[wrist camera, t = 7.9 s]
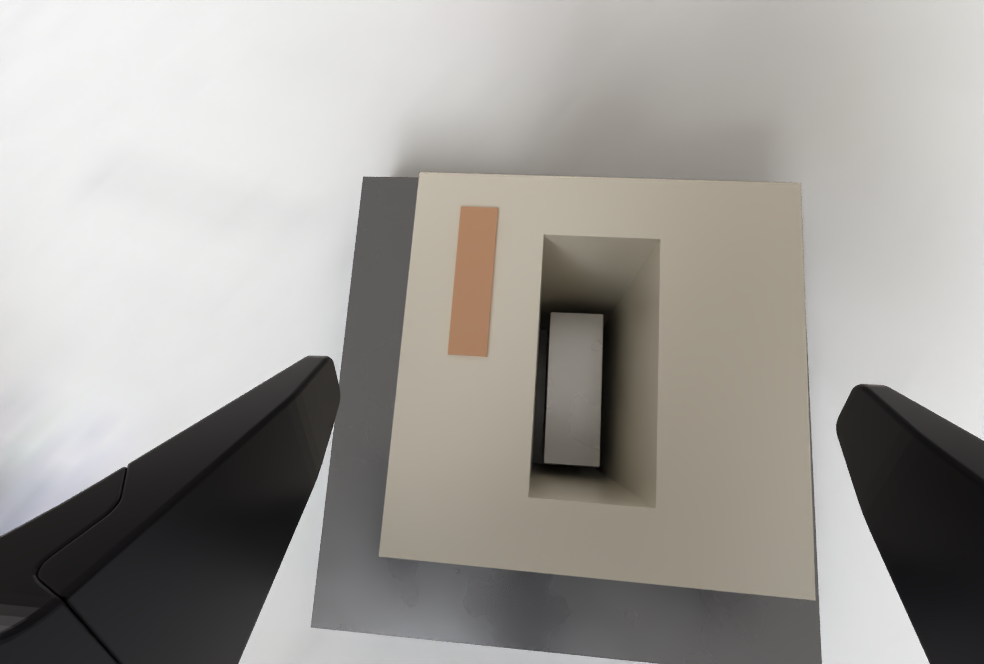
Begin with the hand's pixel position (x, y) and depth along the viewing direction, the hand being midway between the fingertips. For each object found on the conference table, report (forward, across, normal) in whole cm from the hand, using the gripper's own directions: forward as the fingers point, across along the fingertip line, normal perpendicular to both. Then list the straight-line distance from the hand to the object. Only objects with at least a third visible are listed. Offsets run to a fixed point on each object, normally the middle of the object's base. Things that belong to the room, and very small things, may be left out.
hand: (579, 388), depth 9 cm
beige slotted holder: (+5, 0, +4) cm, 7 cm away
